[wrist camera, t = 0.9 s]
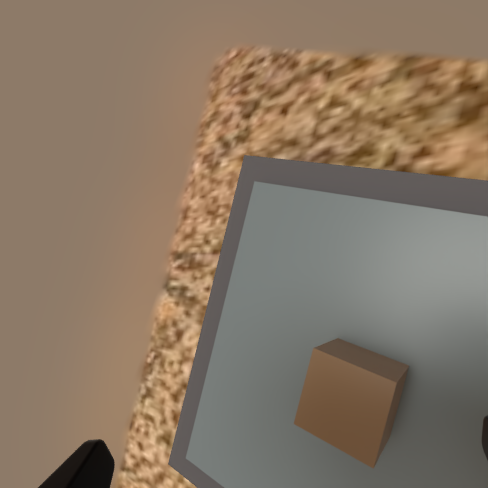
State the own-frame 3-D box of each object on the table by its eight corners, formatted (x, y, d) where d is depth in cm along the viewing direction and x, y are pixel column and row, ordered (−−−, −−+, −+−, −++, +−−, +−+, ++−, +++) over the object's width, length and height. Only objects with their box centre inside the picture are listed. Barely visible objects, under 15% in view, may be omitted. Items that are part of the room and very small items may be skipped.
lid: (682, 249, 15) (765, 235, 11) (545, 715, 15) (573, 868, 11) (259, 184, 26) (222, 165, 22) (192, 453, 27) (143, 483, 23)
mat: (765, 213, 14) (775, 211, 13) (590, 792, 15) (594, 807, 14) (247, 157, 27) (244, 155, 27) (172, 461, 28) (168, 463, 28)
